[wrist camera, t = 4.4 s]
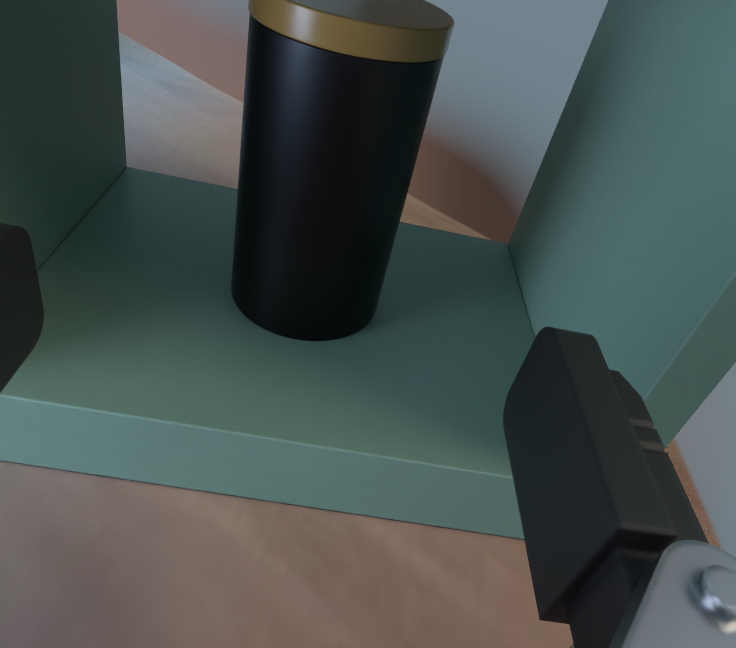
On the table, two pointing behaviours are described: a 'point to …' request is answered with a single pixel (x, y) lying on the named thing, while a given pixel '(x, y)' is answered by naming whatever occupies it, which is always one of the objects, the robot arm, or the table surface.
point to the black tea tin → (328, 155)
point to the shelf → (397, 297)
